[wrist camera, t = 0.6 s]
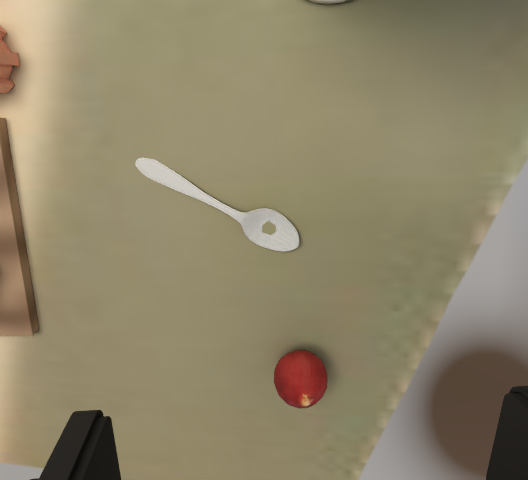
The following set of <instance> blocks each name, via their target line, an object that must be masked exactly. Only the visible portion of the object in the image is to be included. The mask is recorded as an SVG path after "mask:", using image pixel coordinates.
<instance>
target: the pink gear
mask: <svg viewBox="0 0 528 480" xmlns="http://www.w3.org/2000/svg"><path fill="white" fill-rule="evenodd" d="M6 33H7V32H6V31H5V30H4V29H3V28H2V27H1V26H0V93H8V92H9V91H10V90H11V89H12V87H13V86H14V85H15V84H14V83H13V82H11V81H10V80H9V79H8V78H9V76H10V73H11V71H12V69H13V68H12V65H14V66H20V63H19V56H18V53H14V52H10V49H9V48H8V46H7V45H6V44H5V42H4V41H3V39H2V38H3V37H4V36H5V35H6Z"/></svg>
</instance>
